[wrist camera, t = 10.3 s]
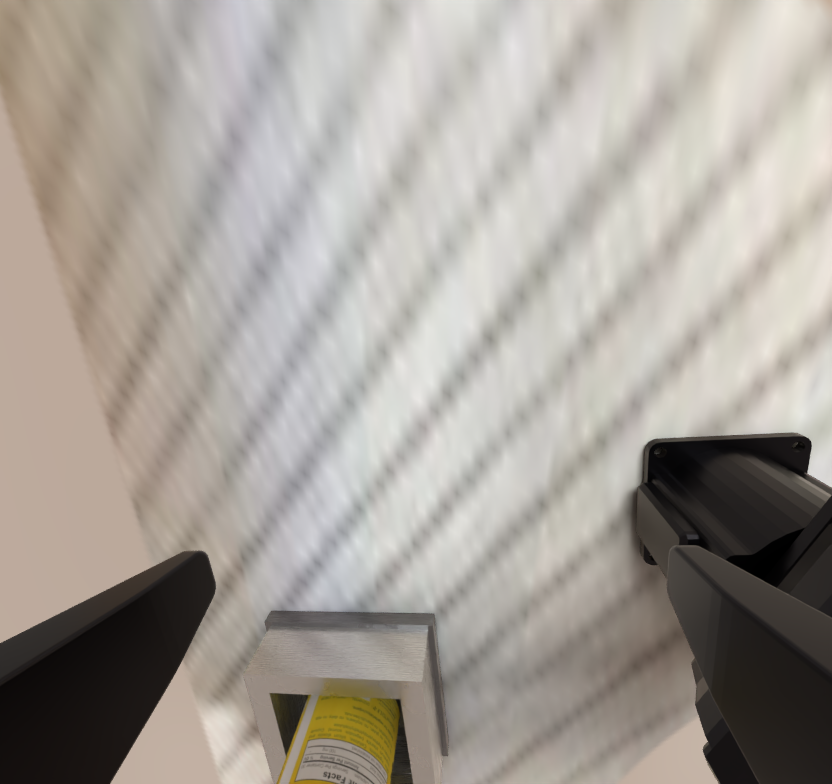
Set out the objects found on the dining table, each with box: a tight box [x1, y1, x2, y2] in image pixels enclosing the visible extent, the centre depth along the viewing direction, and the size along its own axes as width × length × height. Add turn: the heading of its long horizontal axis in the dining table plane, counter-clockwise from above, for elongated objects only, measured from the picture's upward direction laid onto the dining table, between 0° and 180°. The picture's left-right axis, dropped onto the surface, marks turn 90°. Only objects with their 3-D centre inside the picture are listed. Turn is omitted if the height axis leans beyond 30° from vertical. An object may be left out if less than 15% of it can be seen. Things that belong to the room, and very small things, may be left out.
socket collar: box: [243, 611, 449, 784], centre depth 23 cm, size 10×10×4 cm
